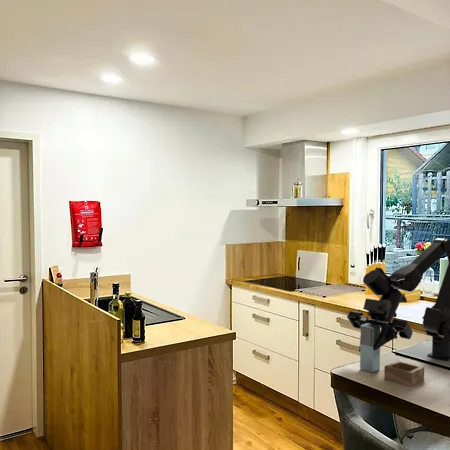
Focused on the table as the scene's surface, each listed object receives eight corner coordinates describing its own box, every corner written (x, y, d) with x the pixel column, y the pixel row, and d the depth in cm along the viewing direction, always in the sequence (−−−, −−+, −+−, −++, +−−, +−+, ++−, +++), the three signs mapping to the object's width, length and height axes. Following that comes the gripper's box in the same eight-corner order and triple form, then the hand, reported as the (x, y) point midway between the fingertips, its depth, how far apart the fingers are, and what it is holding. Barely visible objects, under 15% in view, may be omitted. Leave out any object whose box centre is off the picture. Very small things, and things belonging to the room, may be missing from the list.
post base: (397, 372, 133) (398, 360, 133) (424, 379, 128) (424, 367, 128) (384, 378, 128) (384, 366, 128) (410, 386, 123) (411, 373, 123)
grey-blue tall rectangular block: (367, 366, 139) (368, 322, 138) (379, 369, 136) (380, 325, 135) (359, 369, 136) (359, 325, 135) (371, 373, 133) (372, 327, 132)
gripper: (350, 284, 145) (329, 325, 138) (408, 292, 131) (388, 338, 124) (364, 306, 150) (344, 347, 143) (420, 316, 136) (401, 361, 129)
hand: (367, 347), depth 135 cm, fingers closed on grey-blue tall rectangular block, 4 cm apart
